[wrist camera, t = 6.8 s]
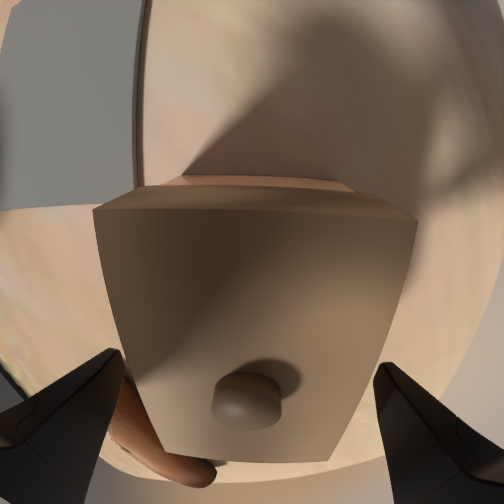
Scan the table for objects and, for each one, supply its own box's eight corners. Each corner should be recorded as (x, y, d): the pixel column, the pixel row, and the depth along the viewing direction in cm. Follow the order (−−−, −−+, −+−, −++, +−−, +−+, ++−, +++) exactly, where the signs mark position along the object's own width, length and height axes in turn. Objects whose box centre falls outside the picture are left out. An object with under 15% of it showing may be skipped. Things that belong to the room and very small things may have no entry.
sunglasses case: (60, 371, 19) (51, 418, 14) (117, 341, 22) (120, 386, 16) (159, 465, 26) (173, 505, 20) (205, 444, 28) (225, 483, 22)
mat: (158, -55, 7) (155, -59, 7) (138, 200, 13) (134, 202, 13) (16, 8, 7) (12, 7, 7) (3, 208, 14) (-1, 210, 13)
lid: (373, 193, 8) (435, 232, 5) (321, 413, 12) (329, 474, 9) (142, 186, 8) (73, 219, 5) (178, 405, 13) (162, 465, 9)
